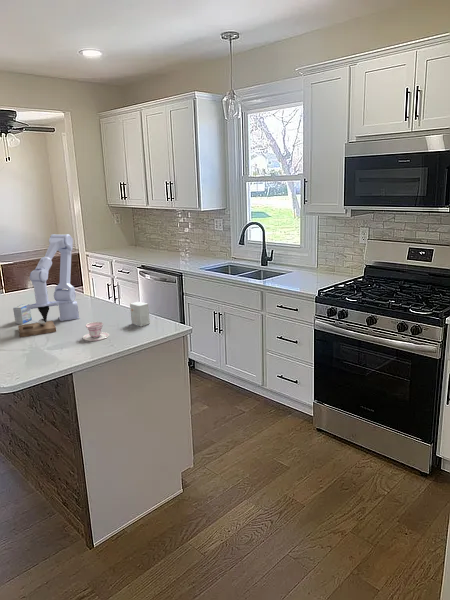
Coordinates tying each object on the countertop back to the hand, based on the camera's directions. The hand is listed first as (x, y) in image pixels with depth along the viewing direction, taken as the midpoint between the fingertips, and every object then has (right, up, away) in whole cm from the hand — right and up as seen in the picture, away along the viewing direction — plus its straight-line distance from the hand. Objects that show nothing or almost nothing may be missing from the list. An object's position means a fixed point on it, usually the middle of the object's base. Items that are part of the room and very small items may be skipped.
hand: (44, 321), depth 225 cm
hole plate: (-4, -4, 0) cm, 5 cm away
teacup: (+28, -7, -13) cm, 32 cm away
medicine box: (-17, -1, +15) cm, 22 cm away
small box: (+46, -2, +5) cm, 46 cm away
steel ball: (-1, 0, 0) cm, 1 cm away
